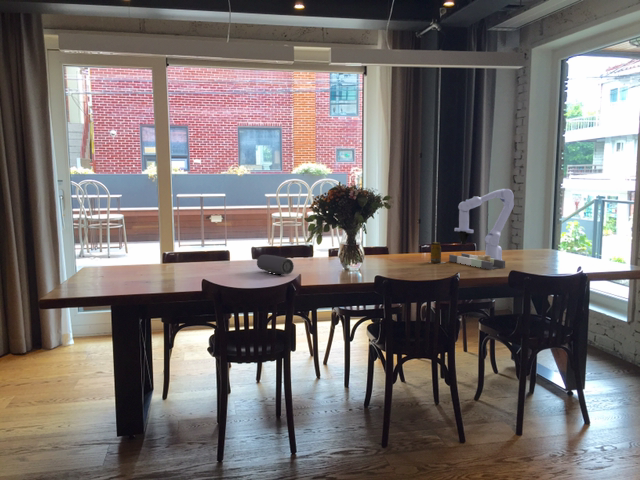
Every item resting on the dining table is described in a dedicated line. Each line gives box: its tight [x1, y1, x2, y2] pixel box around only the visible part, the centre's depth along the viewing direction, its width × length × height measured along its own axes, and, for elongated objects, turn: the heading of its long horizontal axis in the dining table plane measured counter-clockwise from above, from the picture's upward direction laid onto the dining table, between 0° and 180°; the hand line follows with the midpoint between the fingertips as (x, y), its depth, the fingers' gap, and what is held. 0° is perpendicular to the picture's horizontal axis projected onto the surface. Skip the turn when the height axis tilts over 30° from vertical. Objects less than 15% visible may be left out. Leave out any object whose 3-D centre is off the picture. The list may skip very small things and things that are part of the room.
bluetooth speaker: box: [256, 254, 294, 275], centre depth 295 cm, size 23×9×10 cm, turn 42°
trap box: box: [448, 252, 506, 271], centre depth 315 cm, size 11×34×4 cm, turn 27°
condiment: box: [428, 241, 447, 265], centre depth 323 cm, size 7×8×12 cm
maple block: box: [477, 254, 491, 262], centre depth 309 cm, size 5×5×4 cm
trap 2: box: [492, 266, 504, 270], centre depth 304 cm, size 8×7×1 cm
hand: (463, 244), depth 327 cm, fingers closed
